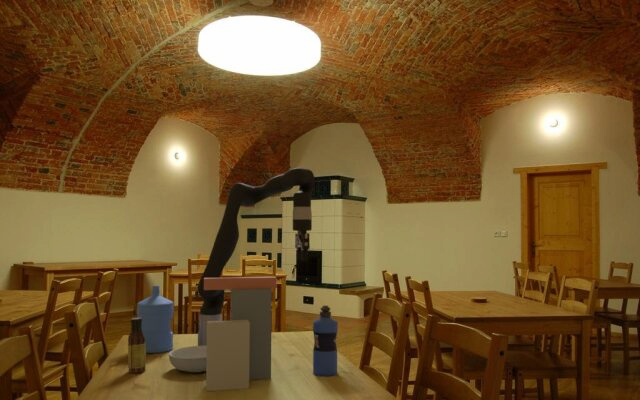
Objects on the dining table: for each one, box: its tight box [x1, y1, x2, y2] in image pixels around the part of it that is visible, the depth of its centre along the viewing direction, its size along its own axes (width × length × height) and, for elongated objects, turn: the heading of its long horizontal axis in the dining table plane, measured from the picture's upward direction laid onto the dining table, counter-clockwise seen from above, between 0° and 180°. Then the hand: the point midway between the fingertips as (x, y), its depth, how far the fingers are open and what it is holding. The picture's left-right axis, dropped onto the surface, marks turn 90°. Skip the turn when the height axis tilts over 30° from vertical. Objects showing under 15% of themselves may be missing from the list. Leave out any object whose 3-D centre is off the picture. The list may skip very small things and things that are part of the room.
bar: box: [204, 276, 277, 291], centre depth 198 cm, size 26×4×4 cm, turn 104°
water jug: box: [136, 285, 175, 354], centre depth 240 cm, size 16×16×28 cm
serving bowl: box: [168, 345, 207, 374], centre depth 207 cm, size 21×21×7 cm
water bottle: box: [312, 305, 339, 378], centre depth 203 cm, size 9×9×25 cm
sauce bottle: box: [127, 317, 147, 374], centre depth 204 cm, size 7×6×20 cm
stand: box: [205, 288, 273, 392], centre depth 192 cm, size 23×18×32 cm
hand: (302, 259), depth 213 cm, fingers open, 8 cm apart
